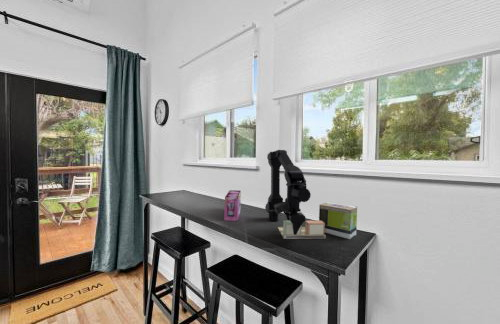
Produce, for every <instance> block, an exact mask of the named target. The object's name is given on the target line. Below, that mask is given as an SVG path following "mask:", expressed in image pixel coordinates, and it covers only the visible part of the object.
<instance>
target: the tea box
mask: <svg viewBox="0 0 500 324" xmlns="http://www.w3.org/2000/svg"><path fill="white" fill-rule="evenodd" d="M318 206H319V210H318V212H319V213H318V215H319V216H318V221H322V222H324V223H325V228H324V234H329V235H332V236H336V237H340V238H344V239H348V240H351V239H352V238H353V237H355V236H357V228H358V227H357V221H358V218H357V217H358V206H356V205H350V204H349V205H348V204H345V203H344V204H343V203H336V202H332V201H326V202H322V203H321V204H319V205H318Z"/></svg>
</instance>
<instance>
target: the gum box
mask: <svg viewBox="0 0 500 324" xmlns="http://www.w3.org/2000/svg"><path fill="white" fill-rule="evenodd" d="M241 194H242V191H241V190H232V189H231V190H229V191H228V192H227V194H226V195H225V197H224V211H223V212H224V214H223V221H228V222H229V221H230V222H233V221H234V222H235V221H236V222H237V221H238V220H239V216H240V213H241V203H242V202H241V201H242V199H241V198H242V195H241Z"/></svg>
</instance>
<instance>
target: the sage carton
mask: <svg viewBox="0 0 500 324" xmlns="http://www.w3.org/2000/svg"><path fill="white" fill-rule="evenodd" d="M282 225H283V226H282V227H283V235H294V234H293V226H292V223H291V222H290V220H287V219H286V220H284V219H283V223H282ZM302 227H303V224H302V225H301V227H300V228H299V230H298V232H297V234H296V235H301V231H302Z"/></svg>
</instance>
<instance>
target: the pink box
mask: <svg viewBox="0 0 500 324" xmlns="http://www.w3.org/2000/svg"><path fill="white" fill-rule="evenodd" d="M304 227H305V235H325V232H324V228H325V223H324V222H322V221H319V220H305V226H304Z"/></svg>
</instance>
